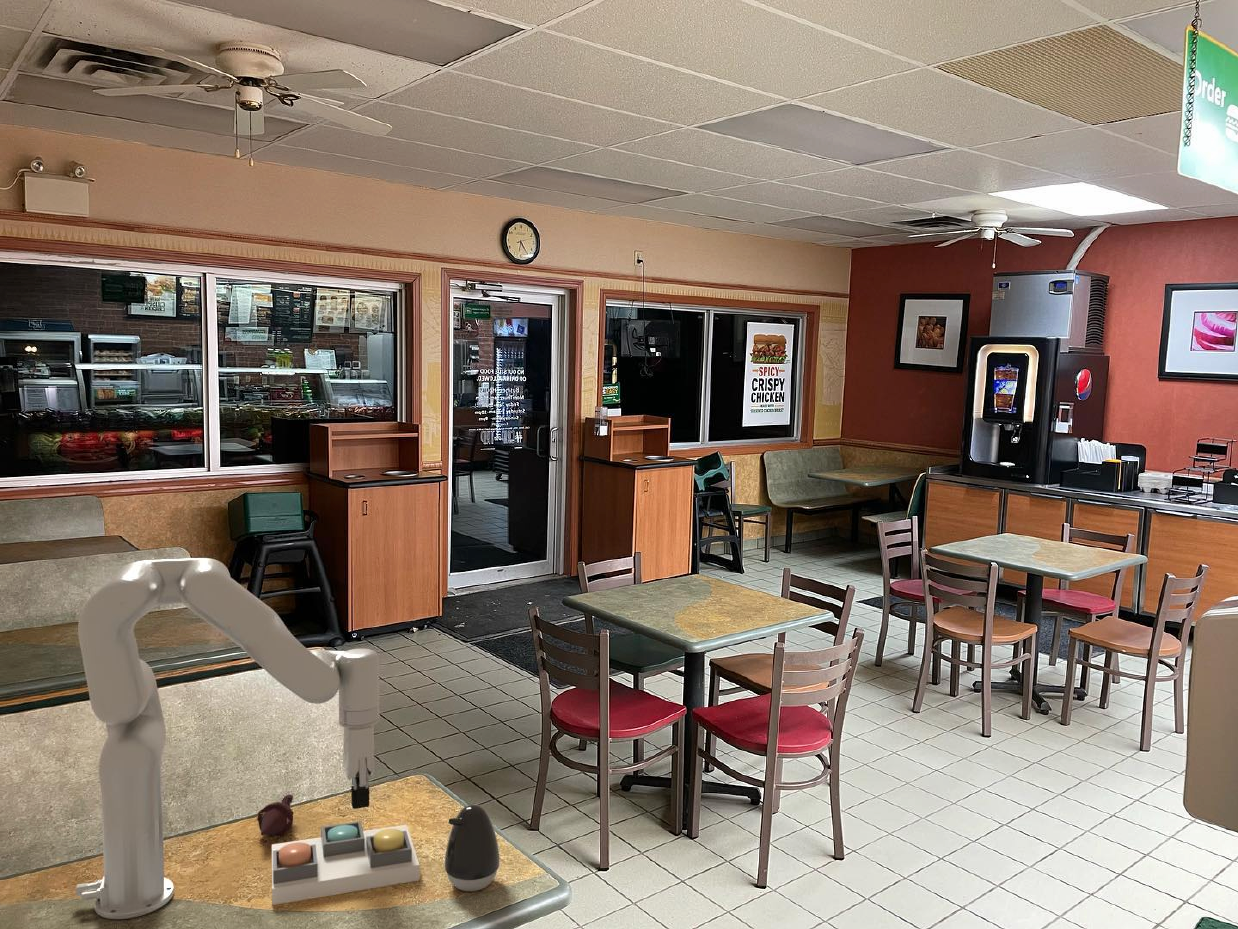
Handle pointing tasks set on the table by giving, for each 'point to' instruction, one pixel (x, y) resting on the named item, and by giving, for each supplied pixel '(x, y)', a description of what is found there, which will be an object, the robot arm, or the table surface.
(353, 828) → the button teal
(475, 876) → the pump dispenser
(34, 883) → the table surface
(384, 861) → the button panel
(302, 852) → the button terracotta
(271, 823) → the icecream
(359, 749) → the robot arm
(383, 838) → the button ochre
